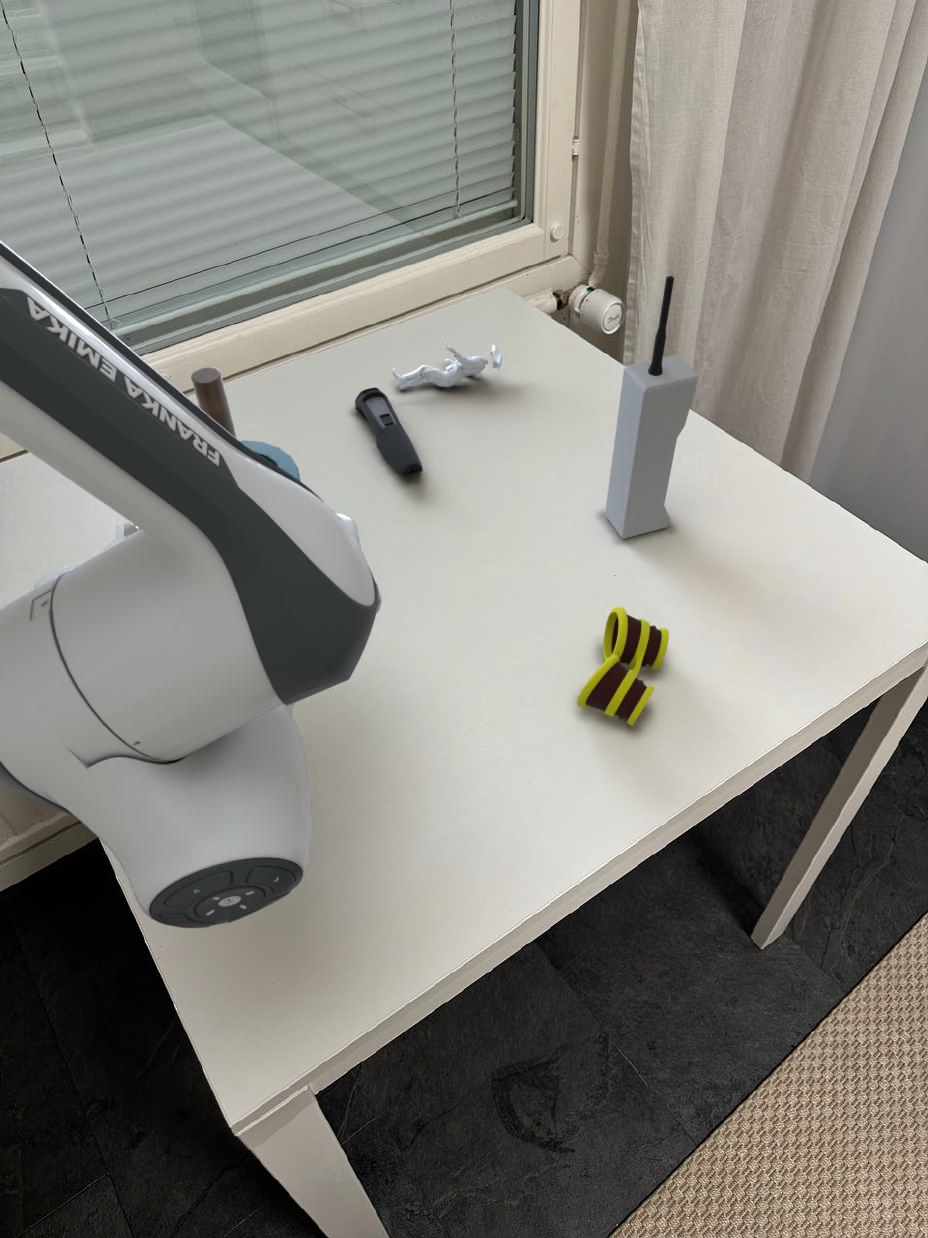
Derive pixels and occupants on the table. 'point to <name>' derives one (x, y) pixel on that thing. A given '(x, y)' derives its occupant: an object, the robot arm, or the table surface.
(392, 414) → the electric trimmer
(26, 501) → the table surface
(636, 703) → the opera glasses
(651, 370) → the vintage mobile phone
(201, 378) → the brush
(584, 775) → the table surface
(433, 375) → the soldier figure
